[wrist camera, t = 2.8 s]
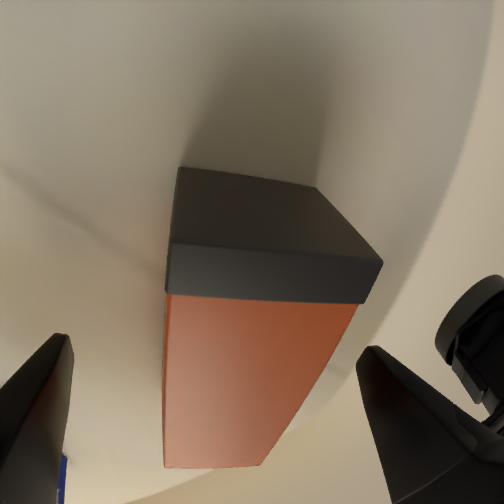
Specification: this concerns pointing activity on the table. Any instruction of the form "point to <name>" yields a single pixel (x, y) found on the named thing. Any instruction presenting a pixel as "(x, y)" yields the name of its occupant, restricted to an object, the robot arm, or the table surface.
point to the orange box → (251, 311)
